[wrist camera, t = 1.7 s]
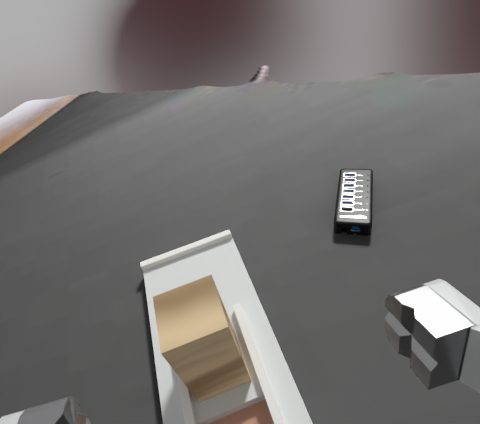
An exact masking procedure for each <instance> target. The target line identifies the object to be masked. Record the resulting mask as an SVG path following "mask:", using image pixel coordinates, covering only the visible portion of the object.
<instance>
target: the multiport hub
mask: <svg viewBox="0 0 480 424" xmlns="http://www.w3.org/2000/svg"><path fill="white" fill-rule="evenodd" d="M372 189H373V171H372V170H370V169H341V170H340V176H339V184H338V193H337V202H336V210H335V219H334V231H335V233H339V234H353V235H370V234H371V228H372Z"/></svg>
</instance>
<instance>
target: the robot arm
mask: <svg viewBox="0 0 480 424" xmlns="http://www.w3.org/2000/svg"><path fill="white" fill-rule="evenodd" d="M385 307H386V308H387V309H388V310H389V311H390V312H389V313H388V315H387V316H386V317H385V331H386V334H387V337H388V339H389V341H390V343H391V344H392V346H393V347H394V349H395V350H396V351H397V352H398V354H401V355H403V356H405V357H407V358H409V359H410V368H411V369H412V371H413V372H414V373H415V374H416V375H417V377H418V378H419V379H420V380H421V381H422V383H423V384H424V385H425V386H426V387H427V389H428V390H429V389H432V388H435V387H438V386H441V385H444V384H447V383H450V382H453V381H456V380H459V379H460V380H459V382H461V383H463V384H465V385H467V386H468V387H470V388H472V389H474V390H475V391H477V392H479V393H480V308H479V307H478V306H477V305H476V304H474V303H473V302H472V301H470V300H469V299H468V298H467V297H465V296H464V295H463V294H461V293H460V292H459V291H458V290H456V289H455V288H454V287H452V286H451V285H450V284H448V283H447V282H446V281H444V280H441V279H437V280H434V281H431V282H428V283H425V284H422V285H418V286H415V287H412V288H409V289H405V290H402V291H399V292H396V293H393V294H390V295H388V296H387V298H386V301H385ZM79 406H80V404H79V403H78V402H77V400H76V399H75V397H74V396H72V397H67V398H64V399H60V400H57V401H53V402H50V403H46V404H43V405H40V406H36V407H33V408H29V409H26V410H23V411H20V412H16V413H13V414H10V415H6V416H3V417H1V419H0V424H91V422H90V421H89V419H88V417H87V416H85V415H82V414H79V413H78V412H79Z"/></svg>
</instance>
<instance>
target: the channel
mask: <svg viewBox="0 0 480 424" xmlns="http://www.w3.org/2000/svg"><path fill="white" fill-rule="evenodd" d="M140 265H141V268H142V270H143V274H144V281H145V289H146V297H147V304H148V312H149V320H150V327H151V335H152V343H153V350H154V358H155V366H156V374H157V381H158V389H159V397H160V404H161V412H162V420H163V424H313V423H312V421H311V419H310V416H309V414H308V412H307V410H306V407H305V405H304V403H303V400H302V398H301V396H300V393H299V391H298V389H297V386H296V384H295V382H294V379H293V377H292V375H291V372H290V370H289V368H288V366H287V363H286V361H285V359H284V356H283V354H282V352H281V349H280V347H279V345H278V342H277V340H276V338H275V335H274V333H273V331H272V328H271V326H270V324H269V322H268V319H267V317H266V315H265V312H264V310H263V308H262V305H261V303H260V301H259V298H258V296H257V294H256V291H255V289H254V287H253V284H252V282H251V280H250V278H249V275H248V273H247V271H246V268H245V266H244V264H243V261H242V259H241V257H240V254H239V252H238V250H237V247H236V245H235V243H234V240H233V238H232V235H231V232H230V230H226V231H224V232H221V233H218V234H216V235H213V236H210V237H207V238H205V239H202V240H199V241H197V242H194V243H191V244H188V245H186V246H183V247H180V248H178V249H175V250H172V251H170V252H167V253H164V254H161V255H159V256H156V257H153V258H151V259H148V260H145V261H142V262H140ZM209 275H212V277H213V280H214V282H215V284H216V287H217V289H218V292H219V294H220V297H221V299H222V302H223V304H224V306H225V309H226V311H227V314H228V316H229V319H230V321H231V323H232V326H233V328H234V331H235V333H236V336H237V339H238V342H239V345H240V348H241V351H242V354H243V357H244V360H245V363H246V366H247V369H248V372H249V375H250V378H251V381H250V382H248V383H245V384H243V385H241V386H238V387H236V388H233V389H231V390H229V391H226V392H224V393H222V394H219V395H217V396H214V397H212V398H210V399H207V400H205V401H202V402H200V403H199V402H198V400H197V399H196V398H195V397H194V395H193V394H192V393H191V391H190V390H189V389H188V388H187V386H186V385H185V384H184V382H183V381H182V380H181V379H180V377H179V376H178V375H177V374H176V372H175V371H174V370H173V368H172V367H171V366H170V365H169V363H168V362H167V361H166V359H165V358H164V357H163V356H162V354H161V350H160V343H159V337H158V330H157V323H156V316H155V309H154V302H153V297H154V296H156V295H159V294H162V293H164V292H167V291H169V290H172V289H175V288H177V287H180V286H182V285H185V284H188V283H190V282H193V281H196V280H198V279H201V278H203V277H206V276H209Z"/></svg>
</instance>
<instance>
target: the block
mask: <svg viewBox="0 0 480 424" xmlns="http://www.w3.org/2000/svg"><path fill="white" fill-rule="evenodd" d="M153 302H154V309H155V316H156V323H157V330H158V337H159V343H160V350H161V354H162V356H163V357H164V358H165V359H166V361H167V362H168V363H169V365H170V366H171V367H172V368H173V370H174V371H175V372H176V374H177V375H178V376H179V377H180V379H181V380H182V381H183V382H184V384H185V385H186V386H187V388H188V389H189V390H190V391H191V393H192V394H193V395H194V397H195V398H196V399H197V400H198V402H199V403H200V402H202V401H205V400H207V399H210V398H212V397H214V396H217V395H219V394H222V393H224V392H226V391H229V390H231V389H233V388H236V387H238V386H241V385H243V384H245V383H248V382H250V381H251V378H250V375H249V372H248V369H247V366H246V363H245V360H244V357H243V354H242V351H241V348H240V345H239V342H238V339H237V336H236V333H235V331H234V328H233V326H232V323H231V321H230V319H229V316H228V314H227V311H226V309H225V306H224V304H223V302H222V299H221V297H220V294H219V292H218V289H217V287H216V284H215V282H214V280H213V277H212V275H209V276H206V277H203V278H201V279H198V280H196V281H193V282H190V283H188V284H185V285H182V286H180V287H177V288H175V289H172V290H169V291H167V292H164V293H162V294H159V295H156V296H154V297H153Z"/></svg>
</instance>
